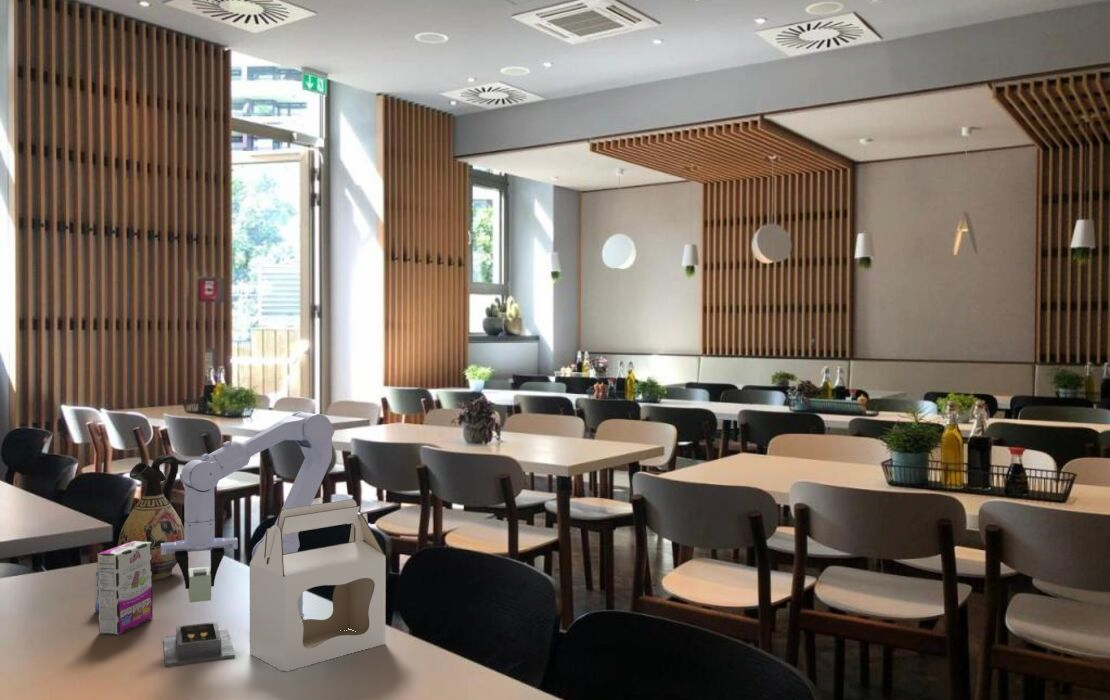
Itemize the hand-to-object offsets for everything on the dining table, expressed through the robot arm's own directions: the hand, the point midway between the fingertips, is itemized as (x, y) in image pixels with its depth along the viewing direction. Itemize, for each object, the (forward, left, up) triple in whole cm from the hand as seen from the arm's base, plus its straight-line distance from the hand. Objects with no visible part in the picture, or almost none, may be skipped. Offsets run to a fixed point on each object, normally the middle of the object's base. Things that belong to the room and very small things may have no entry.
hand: (199, 586), depth 190 cm
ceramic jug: (+8, -49, -9) cm, 50 cm away
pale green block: (0, 0, -2) cm, 2 cm away
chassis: (+1, +11, -9) cm, 15 cm away
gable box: (-20, +21, -9) cm, 30 cm away
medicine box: (+16, -21, -9) cm, 27 cm away
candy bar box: (+14, -9, -9) cm, 19 cm away
